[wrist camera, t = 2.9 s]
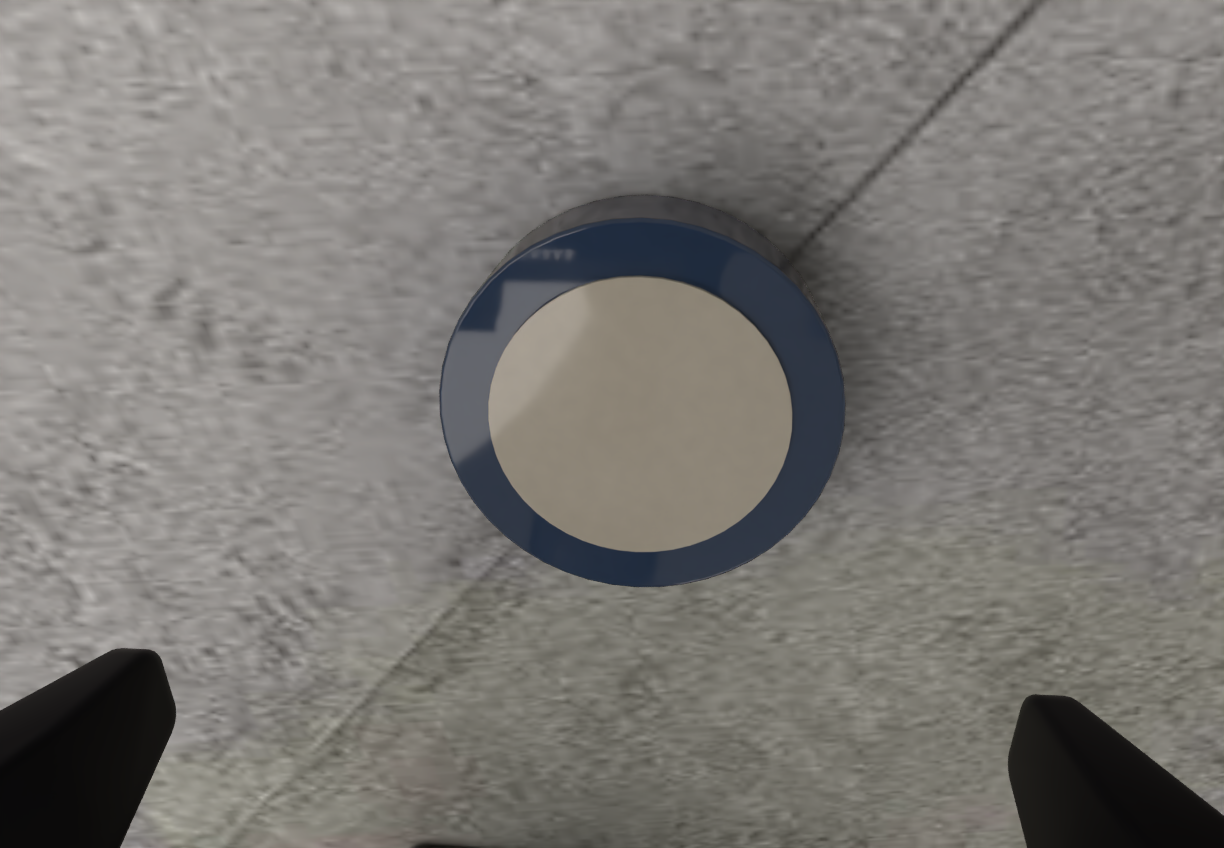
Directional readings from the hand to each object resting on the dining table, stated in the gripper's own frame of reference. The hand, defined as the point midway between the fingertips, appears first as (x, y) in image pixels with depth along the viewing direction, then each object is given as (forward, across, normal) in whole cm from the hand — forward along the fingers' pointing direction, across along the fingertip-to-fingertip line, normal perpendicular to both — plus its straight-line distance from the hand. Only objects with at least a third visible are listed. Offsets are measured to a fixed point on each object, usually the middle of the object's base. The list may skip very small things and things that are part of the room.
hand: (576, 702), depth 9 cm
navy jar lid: (+8, 0, 0) cm, 9 cm away
